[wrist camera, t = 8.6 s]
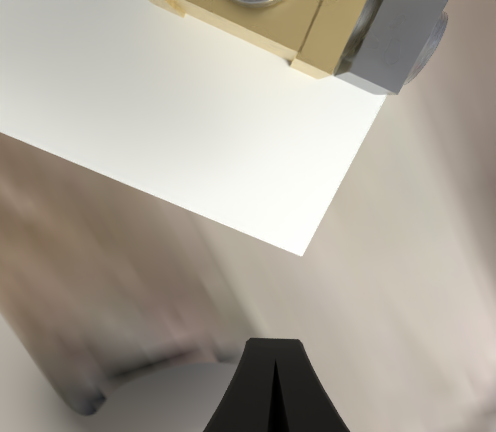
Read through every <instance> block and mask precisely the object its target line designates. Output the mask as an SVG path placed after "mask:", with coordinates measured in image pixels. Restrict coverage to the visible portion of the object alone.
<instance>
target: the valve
mask: <svg viewBox="0 0 496 432" xmlns="http://www.w3.org/2000/svg"><path fill="white" fill-rule="evenodd" d="M149 1H150V2H151V3H152V4H154V5H156V6H158V7H160V8H163V9H165V10H167V11H169V12H171V13H173V14H176V15H178V16H180V17H182V18H184V16H185V13H186V14H188V15H190V16H192V17H194V18H196V19H199V20H201V21H203V22H205V23H207V24H210V25H212V26H214V27H216V28H218V29H220V30H223V31H225V32H227V33H229V34H231V35H233V36H236V37H238V38H240V39H242V40H244V41H247V42H249V43H251V44H253V45H255V46H257V47H260V48H262V49H264V50H266V51H268V52H270V53H273V54H275V55H277V56H279V57H281V58H283V59H286V60H288V61H290V62H291V64H290V66H289V67H291V68H293V69H296V70H298V71H300V72H302V73H304V74H307V75H309V76H311V77H313V78H315V79H317V80H319V79H322V78H324V77H327V76H330V75H332V73H333V71H334V69H335V67H336V65H337V63H338V61H339V58H340V57H342V58H343V59H342V61H341V63H340V65H339V67H338V70H337V72H336V74H335V76H334V77H337V78H339V79H341V80H343V81H345V82H347V83H350V84H352V85H354V86H356V87H358V88H360V89H363V90H365V91H367V92H369V93H371V94H373V95H398V93H399V91H400V89H401V88H402V86H403V85H406V84H407V83H409V82H410V81H411V80H413V79H414V78H415V77H416V76H417V74H418V73H419V72H420V71H421V70H422V69H423V67H424V66H425V65H426V63H427V62H428V60H429V59H430V57H431V56H432V54H433V53H434V51H435V49H436V48H437V46H438V44H439V42H440V40H441V38H442V36H443V33H444V31H445V28H446V25H447V21H448V15H447V13H445V12H443V9H444V7H445V5H446V4H447V2H448V0H281V1H279V2H277V3H275V4H273V5H270V6H267V7H262V8H249V7H244V6H240V5H238V4H235V3H234V2H232V1H230V0H149Z"/></svg>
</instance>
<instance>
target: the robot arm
mask: <svg viewBox="0 0 496 432" xmlns="http://www.w3.org/2000/svg"><path fill="white" fill-rule="evenodd" d="M203 432H350V431H349V429H348V428H347V426H346V425H345V423H344V422H343V420H342V418H341V417H340V415H339V414H338V412H337V410H336V409H335V407H334V405H333V403H332V402H331V400H330V398H329V397H328V395H327V393H326V392H325V390H324V388H323V386H322V384H321V383H320V381H319V379H318V377H317V375H316V373H315V371H314V369H313V367H312V365H311V363H310V361H309V359H308V356H307V354H306V352H305V349H304V347H303V344H302V343H301V342H300V341H299V340H298V339H270V338H250V339H249V340H248V341H246V345H245V349H244V352H243V355H242V357H241V360H240V363H239V365H238V367H237V370H236V372H235V374H234V376H233V378H232V380H231V382H230V385H229V386H228V388H227V390H226V392H225V394H224V396H223V398H222V400H221V402H220V404H219V406H218V407H217V409H216V411H215V413H214V414H213V416H212V418H211V419H210V421H209V423H208V424H207V426H206V428H205V430H204V431H203Z"/></svg>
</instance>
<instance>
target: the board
mask: <svg viewBox="0 0 496 432" xmlns="http://www.w3.org/2000/svg"><path fill="white" fill-rule="evenodd" d="M342 59H343V58H342V57H340V58H339V61H338V63H337V65H336V67H335V69H334V71H333V73H332V75H330V76H327V77H324V78H322V79H319V80H317V79H315V78H313V77H311V76H309V75H307V74H304V73H302V72H300V71H298V70H296V69H293V68H291V67H289V66H290V64H291V62H290V61H288V60H286V59H283V58H281V57H279V56H277V55H275V54H273V53H270V52H268V51H266V50H264V49H262V48H260V47H257V46H255V45H253V44H251V43H249V42H247V41H244V40H242V39H240V38H238V37H236V36H233V35H231V34H229V33H227V32H225V31H223V30H220V29H218V28H216V27H214V26H212V25H210V24H207V23H205V22H203V21H201V20H199V19H196V18H194V17H192V16H190V15H188V14H186V13H185V16H184V18H182V17H180V16H178V15H176V14H173V13H171V12H169V11H167V10H165V9H163V8H160V7H158V6H156V5H154V4H152V3H151V2H150V1H149V0H0V132H2V133H4V134H6V135H9V136H11V137H14V138H16V139H18V140H21V141H23V142H26V143H28V144H31V145H33V146H35V147H38V148H40V149H43V150H45V151H47V152H50V153H52V154H55V155H57V156H60V157H62V158H64V159H67V160H69V161H72V162H74V163H76V164H79V165H81V166H84V167H86V168H89V169H91V170H93V171H96V172H98V173H101V174H103V175H105V176H108V177H110V178H113V179H115V180H118V181H120V182H122V183H125V184H127V185H130V186H132V187H135V188H137V189H139V190H142V191H144V192H147V193H149V194H151V195H154V196H156V197H159V198H161V199H164V200H166V201H168V202H171V203H173V204H176V205H178V206H180V207H183V208H185V209H188V210H190V211H193V212H195V213H197V214H200V215H202V216H205V217H207V218H209V219H212V220H214V221H217V222H219V223H222V224H224V225H226V226H229V227H231V228H234V229H236V230H238V231H241V232H243V233H246V234H248V235H251V236H253V237H255V238H258V239H260V240H263V241H265V242H267V243H270V244H272V245H275V246H277V247H280V248H282V249H284V250H287V251H289V252H292V253H294V254H296V255H299V256H301V257H302V255H303V253H304V252H305V250H306V248H307V246H308V244H309V242H310V240H311V238H312V236H313V234H314V233H315V231H316V229H317V227H318V225H319V223H320V221H321V219H322V217H323V215H324V214H325V212H326V210H327V208H328V206H329V204H330V202H331V200H332V198H333V196H334V195H335V193H336V191H337V189H338V187H339V185H340V183H341V181H342V179H343V177H344V175H345V174H346V172H347V170H348V168H349V166H350V164H351V162H352V160H353V158H354V156H355V155H356V153H357V151H358V149H359V147H360V145H361V143H362V141H363V139H364V137H365V136H366V134H367V132H368V130H369V128H370V126H371V124H372V122H373V120H374V118H375V117H376V115H377V113H378V111H379V109H380V107H381V105H382V103H383V101H384V99H385V98H386V96H387V95H373V94H371V93H369V92H367V91H365V90H363V89H360V88H358V87H356V86H354V85H352V84H350V83H347V82H345V81H343V80H341V79H339V78H337V77H334V76H335V74H336V72H337V70H338V67H339V65H340V63H341V61H342Z"/></svg>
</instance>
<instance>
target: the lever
mask: <svg viewBox="0 0 496 432" xmlns="http://www.w3.org/2000/svg"><path fill="white" fill-rule="evenodd" d="M230 1H232V2H234V3H235V4H238V5H240V6H244V7H249V8H262V7H267V6H270V5H273V4H275V3H277V2H279V1H281V0H230Z"/></svg>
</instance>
